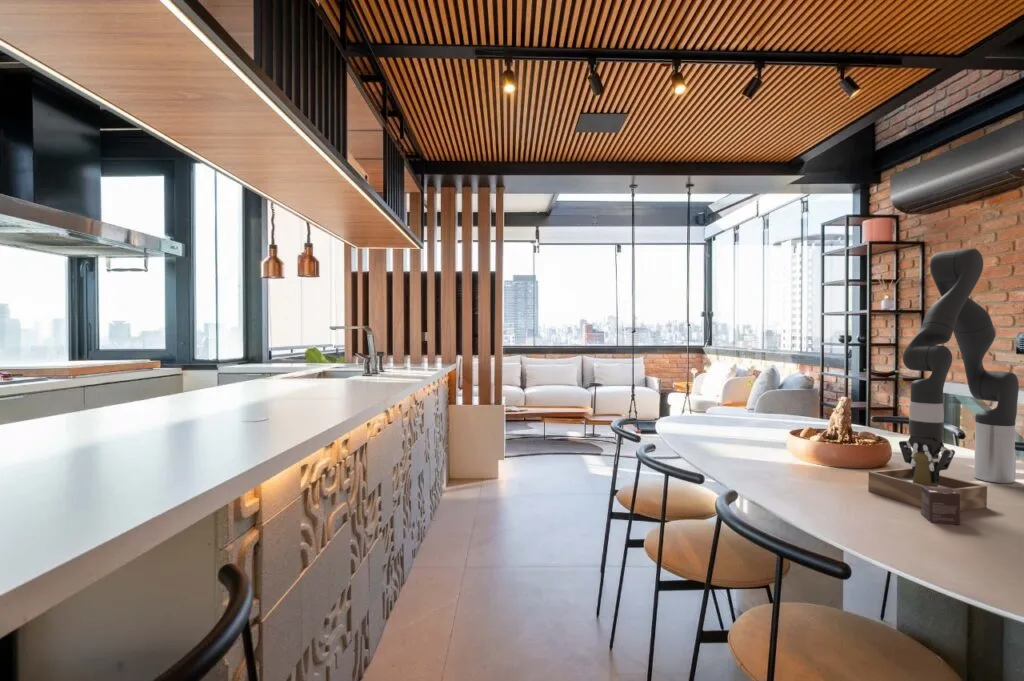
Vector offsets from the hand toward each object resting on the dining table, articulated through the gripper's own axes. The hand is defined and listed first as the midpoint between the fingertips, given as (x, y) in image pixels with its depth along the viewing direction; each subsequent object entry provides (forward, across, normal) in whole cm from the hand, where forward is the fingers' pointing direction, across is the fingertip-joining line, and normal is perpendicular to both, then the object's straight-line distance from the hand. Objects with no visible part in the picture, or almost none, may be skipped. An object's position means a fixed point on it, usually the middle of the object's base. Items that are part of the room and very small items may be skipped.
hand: (925, 482), depth 149 cm
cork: (+3, 0, 0) cm, 3 cm away
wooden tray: (+5, 0, 0) cm, 5 cm away
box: (+5, -13, +13) cm, 19 cm away
